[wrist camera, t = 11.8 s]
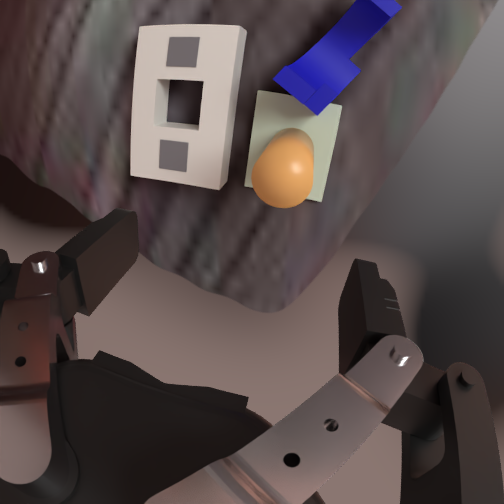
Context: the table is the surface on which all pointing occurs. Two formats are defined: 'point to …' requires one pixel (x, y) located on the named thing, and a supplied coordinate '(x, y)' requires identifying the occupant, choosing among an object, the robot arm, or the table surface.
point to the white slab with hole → (212, 106)
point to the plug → (285, 169)
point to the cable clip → (335, 55)
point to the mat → (301, 117)
